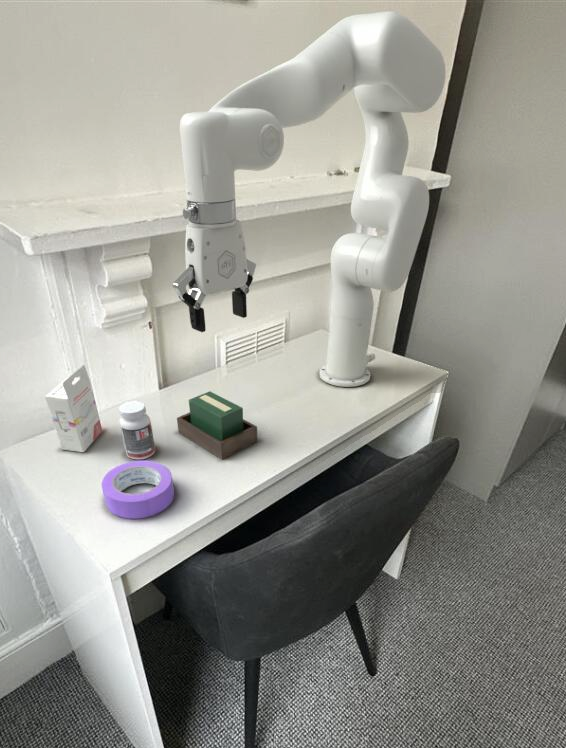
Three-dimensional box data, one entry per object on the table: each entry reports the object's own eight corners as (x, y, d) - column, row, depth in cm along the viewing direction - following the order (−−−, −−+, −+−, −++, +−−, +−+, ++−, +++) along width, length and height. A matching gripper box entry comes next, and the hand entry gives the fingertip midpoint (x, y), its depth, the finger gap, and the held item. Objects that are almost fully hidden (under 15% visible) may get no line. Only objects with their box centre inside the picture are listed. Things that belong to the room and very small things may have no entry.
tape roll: (188, 495, 86) (186, 478, 84) (133, 528, 80) (129, 510, 77) (146, 470, 92) (143, 452, 90) (92, 498, 86) (87, 480, 83)
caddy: (213, 417, 108) (212, 402, 105) (257, 441, 100) (257, 426, 98) (178, 432, 103) (176, 417, 100) (222, 459, 95) (220, 444, 93)
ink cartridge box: (81, 428, 104) (63, 361, 94) (103, 431, 103) (87, 363, 94) (60, 450, 97) (38, 380, 88) (83, 453, 97) (64, 383, 87)
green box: (243, 439, 100) (242, 406, 95) (223, 449, 97) (221, 416, 92) (212, 421, 105) (209, 390, 101) (191, 430, 102) (188, 398, 98)
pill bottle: (161, 453, 97) (154, 407, 90) (135, 464, 94) (126, 417, 87) (146, 441, 100) (137, 396, 94) (120, 451, 97) (110, 406, 91)
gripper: (182, 224, 71) (194, 342, 82) (268, 208, 80) (268, 315, 91) (152, 217, 75) (168, 330, 86) (237, 202, 84) (241, 306, 95)
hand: (219, 322), depth 89 cm, fingers open, 9 cm apart
